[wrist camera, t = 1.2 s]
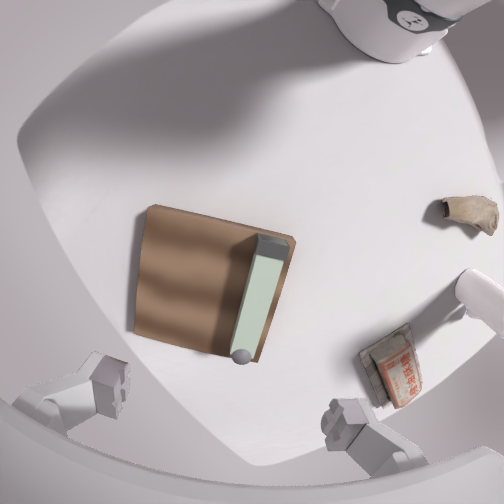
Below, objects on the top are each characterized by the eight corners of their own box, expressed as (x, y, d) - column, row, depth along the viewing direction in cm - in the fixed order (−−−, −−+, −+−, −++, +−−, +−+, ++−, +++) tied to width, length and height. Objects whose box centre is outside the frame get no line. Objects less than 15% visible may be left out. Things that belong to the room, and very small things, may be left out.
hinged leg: (251, 351, 37) (252, 366, 34) (227, 346, 37) (226, 361, 33) (285, 239, 33) (290, 247, 29) (257, 232, 32) (258, 239, 29)
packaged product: (366, 369, 37) (419, 335, 36) (356, 351, 42) (405, 320, 41) (388, 420, 42) (431, 393, 40) (380, 404, 46) (420, 379, 45)
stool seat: (155, 204, 34) (147, 207, 31) (292, 236, 36) (296, 242, 33) (140, 323, 39) (134, 333, 36) (256, 350, 40) (257, 362, 37)
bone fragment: (488, 197, 35) (506, 202, 30) (482, 232, 36) (499, 239, 32) (439, 180, 34) (457, 182, 30) (432, 220, 36) (450, 227, 31)
